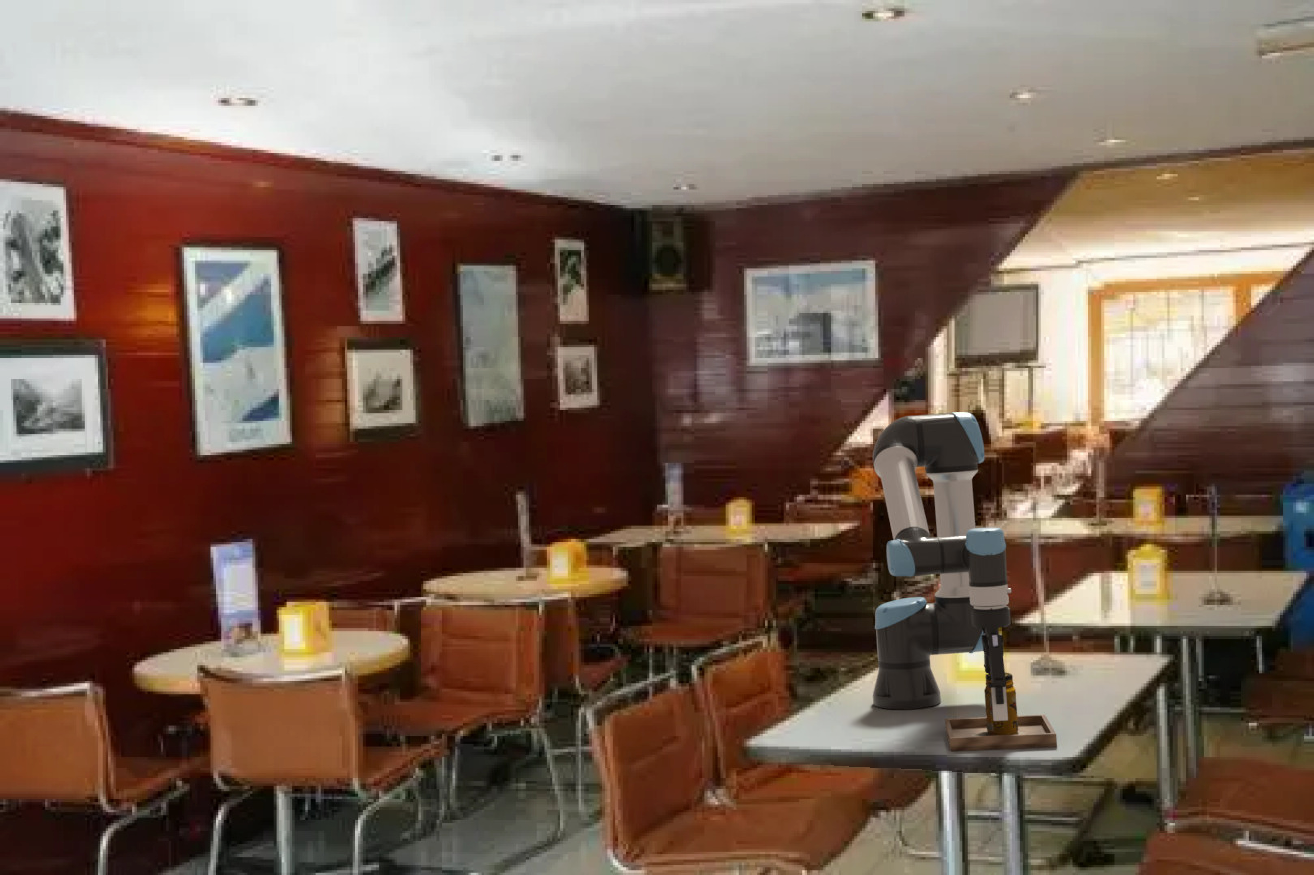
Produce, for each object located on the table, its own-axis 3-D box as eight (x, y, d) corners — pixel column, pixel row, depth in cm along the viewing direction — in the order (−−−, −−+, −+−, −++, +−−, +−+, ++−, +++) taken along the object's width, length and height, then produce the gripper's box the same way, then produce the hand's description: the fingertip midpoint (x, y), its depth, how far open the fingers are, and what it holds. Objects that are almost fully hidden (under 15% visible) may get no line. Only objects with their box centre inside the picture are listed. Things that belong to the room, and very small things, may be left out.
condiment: (1028, 733, 294) (1023, 673, 294) (998, 741, 289) (994, 680, 289) (999, 729, 300) (995, 669, 300) (970, 736, 295) (966, 676, 295)
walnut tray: (950, 751, 287) (949, 738, 287) (945, 731, 305) (944, 719, 305) (1057, 746, 285) (1056, 733, 284) (1045, 726, 302) (1044, 714, 302)
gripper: (1015, 613, 282) (1023, 725, 282) (1003, 597, 306) (1010, 699, 307) (975, 616, 283) (983, 727, 283) (966, 599, 307) (973, 701, 308)
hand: (997, 713), depth 295 cm, fingers open, 13 cm apart
